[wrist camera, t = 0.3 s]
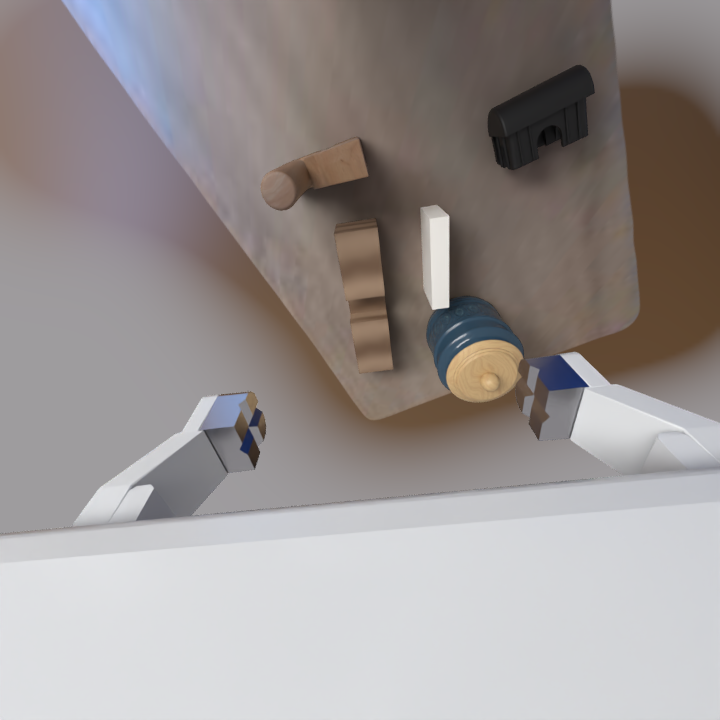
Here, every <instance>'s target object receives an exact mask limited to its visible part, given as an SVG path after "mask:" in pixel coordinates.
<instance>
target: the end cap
mask: <svg viewBox="0 0 720 720" xmlns="http://www.w3.org/2000/svg"><path fill="white" fill-rule="evenodd" d="M594 93H595V92H594V85H593V81H592V78H591V75H590V73H589V71H588V70H587V69H586V68H585V67H584V66H582V65H576V66H574V67H572V68H570V69H568V70H566V71H564V72H562V73H560V74H558V75H556V76H554V77H552V78H550V79H549V80H547V81H545V82H543V83H541V84H539V85H537V86H535V87H533V88H531V89H529V90H527V91H525V92H523V93H521V94H520V95H518V96H516V97H514V98H512V99H510V100H508V101H506V102H504V103H502V104H500V105H498V106H496V107H494V108H492V109H491V110H490V112H489V115H488V132H489V136H490V137H492V142H493V147H494V152H495V157H496V162H497V164H499V165H501V167H503V168H506V167H507V168H508V169H511V170H514V169H517V168H520V167H522V166H524V165H526V164H528V163H530V162H532V161H534V160H537V159H539V156H538V149H537V148H538V147H540V146H542V145H546V146H547V145H549V144H551V143H553V142H555V141H557V140H559V139H561V145H562V147H564V146H566V145H569V144H571V143H573V142H575V141H577V140H579V139H581V138H583V137H586V136H587V135H588V127H587V112H586V97H588V96H590V95H592V94H594Z"/></svg>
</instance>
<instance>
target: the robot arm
mask: <svg viewBox="0 0 720 720" xmlns="http://www.w3.org/2000/svg"><path fill="white" fill-rule="evenodd" d="M518 372H519V373H520V375H521V376H522V377H521V378H520V379H519V380H518V382H517V383H516V390H515V393H516V400H517V403H518V406H519V408H520V410H521V412H522V413H523V414H525V415H526V416H528V417H530V419H529V425H530V427H531V429H532V430H533V432H534V433H535V435H536V437H537V439H538V440H539V441H543V440H556V439H568V438H570V440H571V441H573V442H574V443H576V444H577V445H579V446H580V447H582V448H583V449H584V450H586V451H587V452H589V453H590V454H592V455H593V456H595V457H596V458H598V459H599V460H601V461H602V462H604V463H605V464H607V465H608V466H610V467H611V468H612V469H614V470H615V471H617V472H618V473H620V474H621V475H623V476H613V477H603V478H592V479H582V480H571V481H561V482H550V483H539V484H529V485H518V486H507V487H497V488H484V489H474V490H463V491H452V492H441V493H430V494H419V495H409V496H398V497H387V498H376V499H366V500H355V501H345V502H334V503H323V504H312V505H301V506H291V507H280V508H270V509H258V510H248V511H237V512H226V513H215V514H205V515H195V516H191V515H192V514H193V513H194V512H195V511H196V510H197V509H198V507H199V506H200V505H201V504H202V503H203V502H204V501H205V500H206V498H207V497H208V496H209V495H210V494H211V493H212V492H213V491H214V490H215V488H216V487H217V486H218V485H219V484H220V483H221V482H222V481H223V480H224V478H225V477H226V476H227V475H228V474H227V473H233V472H241V471H249V470H255V468H256V464H257V461H258V458H259V455H260V451H259V448H258V446H259V445H260V444H261V443H262V442H263V441H264V438H265V434H266V423H265V418H264V415H263V413H262V411H260V410H259V409H257V408H256V405H257V403H258V400H257V398H256V396H255V394H254V393H253V392H251V391H250V392H240V393H229V394H221V395H211V396H205V397H203V398H202V399H201V400H200V402H199V404H198V406H197V407H196V409H195V411H194V412H193V414H192V416H191V417H190V419H189V421H188V422H187V424H186V426H185V427H184V429H183V431H182V432H181V433H176V434H175V435H174V436H172V437H171V438H169V439H168V440H167V441H165V442H164V443H162V444H161V445H159V446H158V447H157V448H155V449H154V450H152V451H151V452H150V453H148V454H147V455H145V456H144V457H143V458H141V459H140V460H138V461H137V462H136V463H134V464H133V465H132V466H130V467H128V468H127V469H126V470H124V471H123V472H121V473H120V474H119V475H118V476H116V477H114V478H113V479H112V480H110V481H109V482H107V483H106V484H105V485H103V486H102V487H100V488H99V489H98V491H97V492H96V493H95V495H94V496H93V497H92V499H91V500H90V502H89V503H88V504H87V506H86V507H85V509H84V510H83V511H82V512H81V514H80V515H79V517H78V518H77V520H76V521H75V522H74V523H73V525H72V526H71V527H64V528H54V529H43V530H32V531H21V532H11V533H0V720H720V423H718V422H716V421H713V420H710V419H708V418H705V417H702V416H700V415H697V414H695V413H692V412H689V411H687V410H684V409H681V408H679V407H676V406H673V405H670V404H668V403H665V402H663V401H660V400H657V399H655V398H652V397H650V396H647V395H644V394H642V393H639V392H636V391H634V390H631V389H628V388H626V387H623V386H620V385H618V384H614V385H611V384H610V383H609V382H608V381H607V380H606V379H605V378H604V377H603V376H602V375H601V374H600V373H599V372H597V370H595V369H594V367H593V366H591V365H590V364H589V363H588V362H587V361H586V360H585V359H584V358H583V357H582V356H581V355H580V354H579V353H576V352H571V353H563V354H557V355H553V356H545V357H537V358H529V359H521V361H520V363H519V367H518Z"/></svg>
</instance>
